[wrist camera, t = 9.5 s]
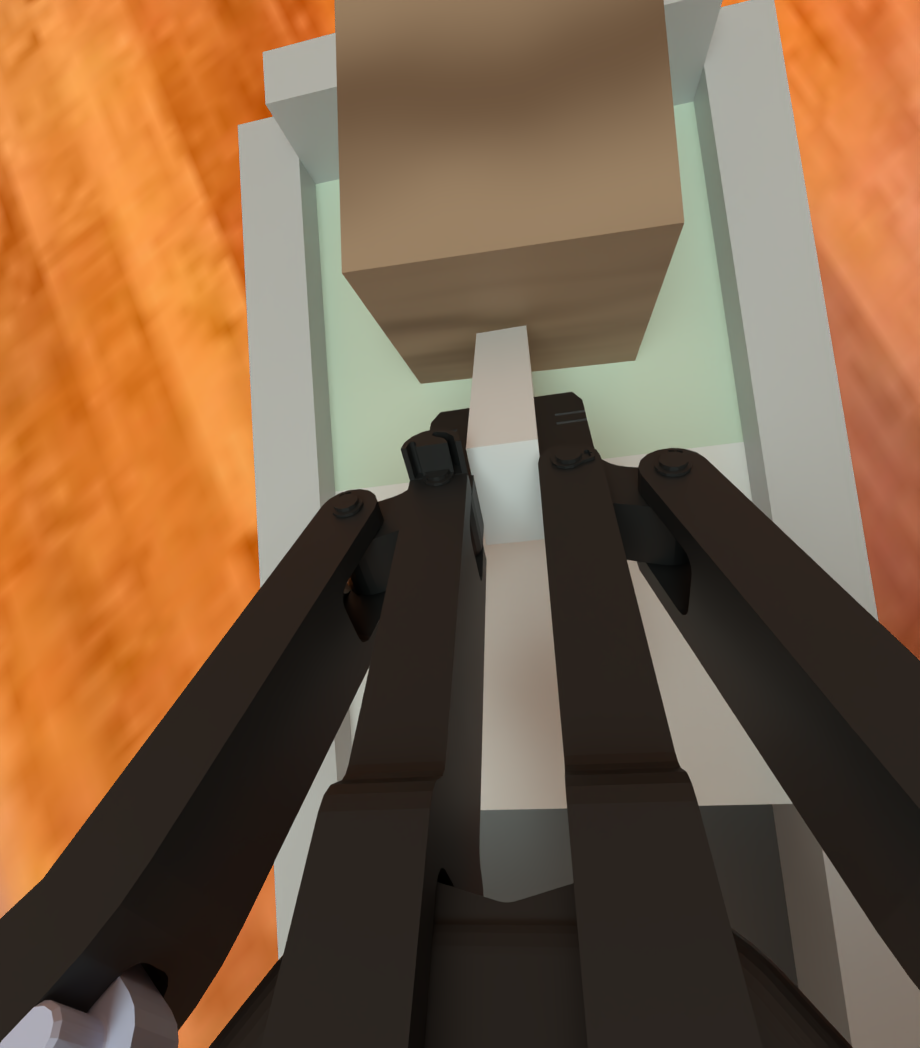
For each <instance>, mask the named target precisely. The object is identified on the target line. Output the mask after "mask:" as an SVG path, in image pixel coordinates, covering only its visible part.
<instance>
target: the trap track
mask: <svg viewBox="0 0 920 1048" xmlns="http://www.w3.org/2000/svg"><path fill="white" fill-rule="evenodd" d="M721 4H722V0H664V10H665V21H666V32H667V42H668V53H669V64H670V74H671V85H672V96H673V106H674V117H675V128H676V138H677V149H678V160H679V170H680V181H681V192H682V202H683V213H684V225H683V228H682V231H681V233H680V236H679V239H678V242H677V245H676V247H675V250H674V253H673V256H672V259H671V261H670V264H669V267H668V270H667V273H666V275H665V278H664V281H663V284H662V287H661V289H660V292H659V295H658V298H657V301H656V303H655V306H654V309H653V312H652V315H651V317H650V320H649V323H648V326H647V329H646V331H645V334H644V337H643V340H642V343H641V345H640V348H639V351H638V354H637V357H636V359H635V361H627V362H618V363H608V364H599V365H590V366H581V367H572V368H563V369H553V370H544V371H535V372H532V380H533V389H534V397H538V396H545V395H552V394H558V393H565V392H573V393H574V394H576V395H577V396H578V397H580V398H581V399H582V400H583V404H584V409H585V413H586V417H587V421H588V425H589V429H590V433H591V437H592V441H593V445H594V449H596V450H597V451H598V453H599V454H600V456H601V459H602V460H604V461H606V462H608V463H611V464H614V465H618V466H626V467H638V466H639V463H640V460H641V459H642V458H643V457H645V456H646V455H647V454H649V453H651V452H654V451H656V450H660V449H667V448H682V449H687V450H691V451H694V452H697V453H699V454H700V455H702V456H703V457H705V458H706V459H707V460H708V461H709V462H710V463H711V464H712V465H714V466H715V467H716V468H717V469H718V470H719V471H720V472H721V473H722V474H723V475H724V476H725V477H726V478H727V479H728V480H729V481H730V482H731V483H733V484H734V485H735V486H736V487H737V488H738V489H739V490H740V491H741V492H742V493H743V494H744V495H745V496H746V497H747V498H748V499H749V500H750V501H752V502H753V503H754V504H755V505H756V506H757V507H758V508H759V509H760V510H761V511H762V512H763V513H764V514H765V515H766V516H767V517H768V518H769V519H771V520H772V521H773V522H774V523H775V524H776V525H777V526H778V527H779V528H780V529H781V530H782V531H783V532H784V533H785V534H786V535H787V536H788V537H790V538H791V539H792V540H793V541H794V542H795V543H796V544H797V545H798V546H799V547H800V548H801V549H802V550H803V551H804V552H805V553H806V554H808V555H809V556H810V557H811V558H812V559H813V560H814V561H815V562H816V563H817V564H818V565H819V566H820V567H821V568H822V569H823V570H824V571H825V572H827V573H828V574H829V575H830V576H831V577H832V578H833V579H834V580H835V581H836V582H837V583H838V584H839V585H840V586H841V587H842V588H843V589H844V590H846V591H847V592H848V593H849V594H850V595H851V596H852V597H853V598H854V599H855V600H856V601H857V602H858V603H859V604H860V605H861V606H862V607H863V608H865V609H866V610H867V611H868V612H869V613H870V614H871V615H872V616H873V617H874V618H875V619H876V620H877V621H878V615H877V609H876V603H875V597H874V591H873V585H872V579H871V573H870V567H869V562H868V556H867V550H866V544H865V538H864V532H863V526H862V520H861V514H860V508H859V502H858V496H857V490H856V484H855V478H854V472H853V466H852V461H851V455H850V449H849V443H848V437H847V431H846V425H845V419H844V413H843V407H842V401H841V395H840V389H839V383H838V377H837V371H836V366H835V360H834V354H833V348H832V342H831V336H830V330H829V324H828V318H827V312H826V306H825V300H824V294H823V288H822V282H821V276H820V270H819V265H818V259H817V253H816V247H815V241H814V235H813V229H812V223H811V217H810V211H809V205H808V199H807V193H806V187H805V181H804V175H803V170H802V164H801V158H800V152H799V146H798V140H797V134H796V128H795V122H794V116H793V110H792V104H791V98H790V92H789V86H788V80H787V75H786V69H785V63H784V57H783V51H782V45H781V39H780V33H779V27H778V21H777V15H776V9H775V3H774V0H749V1H745V2H741V3H737V4H733V5H729V6H725V7H721ZM720 7H721V8H720ZM263 65H264V84H265V102H266V106H267V107H268V109H269V110H270V112H271V114H272V115H273V117H270V118H265V119H261V120H257V121H253V122H249V123H245V124H241V125H238V138H239V159H240V179H241V200H242V220H243V241H244V261H245V282H246V302H247V323H248V343H249V363H250V384H251V404H252V425H253V445H254V466H255V486H256V507H257V527H258V548H259V568H260V588H261V587H262V585H263V584H264V583H265V581H266V580H267V579H268V577H269V576H270V575H271V573H272V572H273V571H274V569H275V568H276V567H277V565H278V564H279V563H280V561H281V560H282V559H283V557H284V556H285V555H286V553H287V552H288V551H289V549H290V548H291V547H292V545H293V544H294V543H295V541H296V540H297V539H298V537H299V536H300V535H301V533H302V532H303V531H304V529H305V528H306V527H307V525H308V524H309V523H310V521H311V520H312V519H313V517H314V516H315V515H316V513H317V512H318V511H319V509H320V508H321V507H322V505H324V504H325V503H326V502H327V501H328V500H329V499H330V498H332V497H334V496H335V495H337V494H339V493H341V492H345V491H348V490H355V489H363V490H369V491H371V492H372V493H374V494H375V495H376V498H377V501H378V502H379V501H382V500H385V499H388V498H391V497H394V496H396V495H399V494H401V493H403V492H405V491H406V490H408V486H409V482H410V479H409V476H408V473H407V469H406V466H405V463H404V459H403V456H402V452H401V447H402V446H403V444H404V442H406V441H407V440H408V439H409V438H411V437H412V436H414V435H417V434H419V433H421V432H424V431H428V430H430V426H431V422H432V421H433V420H434V419H435V418H436V417H437V415H438V414H439V413H440V412H445V411H452V410H459V409H465V408H470V399H471V388H472V378H471V379H462V380H452V381H443V382H434V383H425V384H421V383H420V382H419V381H418V379H417V378H416V376H415V375H414V374H413V372H412V371H411V369H410V368H409V367H408V365H407V364H406V362H405V361H404V360H403V358H402V357H401V355H400V354H399V353H398V351H397V350H396V348H395V347H394V346H393V344H392V343H391V341H390V340H389V339H388V337H387V336H386V334H385V333H384V332H383V330H382V329H381V327H380V326H379V325H378V323H377V322H376V320H375V319H374V318H373V316H372V315H371V313H370V312H369V310H368V309H367V308H366V306H365V305H364V303H363V302H362V301H361V299H360V298H359V296H358V295H357V294H356V292H355V291H354V289H353V288H352V287H351V285H350V284H349V282H348V281H347V280H346V278H345V277H344V275H343V274H342V265H341V226H340V188H339V149H338V111H337V72H336V34H335V33H333V34H329V35H326V36H322V37H318V38H314V39H311V40H307V41H303V42H299V43H296V44H292V45H288V46H284V47H280V48H277V49H273V50H269V51H265V52H263ZM483 546H484V550H485V555H486V559H487V565H486V606H485V647H484V688H483V728H482V769H481V810H480V867H481V874H482V882H483V894H484V897H487V898H490V899H493V900H496V901H500V902H514V901H518V900H521V899H524V898H528V897H531V896H534V895H537V894H540V893H544V892H547V891H550V890H553V889H556V888H560V887H563V886H566V885H569V884H572V883H574V882H573V870H572V859H571V847H570V836H569V824H568V813H567V801H566V789H565V764H564V752H563V741H562V729H561V718H560V707H559V696H558V684H557V673H556V662H555V650H554V639H553V628H552V617H551V605H550V594H549V583H548V571H547V560H546V549H545V539H542V540H532V541H522V542H513V543H503V544H493V545H486V541H485V537H484V536H483ZM627 563H628V567H629V571H630V574H631V578H632V582H633V586H634V590H635V594H636V598H637V602H638V606H639V610H640V614H641V618H642V622H643V626H644V630H645V634H646V638H647V642H648V646H649V650H650V654H651V658H652V662H653V666H654V670H655V674H656V678H657V682H658V686H659V690H660V693H661V697H662V701H663V705H664V709H665V713H666V717H667V721H668V725H669V729H670V733H671V737H672V741H673V745H674V749H675V753H676V756H677V760H678V762H679V765H680V767H681V768H682V769H684V770H685V771H686V772H687V773H688V776H689V778H690V780H691V782H692V785H693V788H694V792H695V795H696V798H697V802H698V805H699V809H700V813H701V817H702V820H703V824H704V828H705V832H706V835H707V839H708V843H709V847H710V851H711V854H712V858H713V862H714V866H715V869H716V873H717V877H718V881H719V884H720V888H721V892H722V896H723V900H724V903H725V907H726V911H727V915H728V918H729V922H730V926H731V928H733V929H734V930H736V931H737V932H738V933H740V934H741V935H742V936H744V937H745V938H747V939H748V940H749V941H751V942H752V943H753V944H754V945H755V946H756V947H758V948H759V949H760V950H761V951H762V952H763V953H764V954H765V955H767V956H768V957H769V958H770V959H771V960H772V961H773V962H774V963H775V964H776V965H777V966H778V967H779V968H780V969H781V970H782V971H783V972H784V973H785V974H786V975H787V976H788V977H789V978H790V980H791V981H792V982H793V983H794V984H795V985H796V986H797V987H798V988H799V989H800V990H801V991H802V993H803V994H804V995H805V996H806V997H807V998H808V999H809V1000H810V1001H811V1002H812V1003H813V1005H814V1006H815V1007H816V1008H817V1009H818V1010H819V1011H820V1012H821V1013H822V1014H823V1015H824V1016H825V1018H826V1019H827V1020H828V1021H829V1022H830V1023H831V1024H832V1025H833V1026H834V1027H835V1028H836V1029H837V1031H838V1032H839V1033H840V1034H841V1035H842V1036H843V1037H844V1038H845V1039H846V1040H847V1041H848V1043H849V1044H850V1045H851V1046H852V1047H853V1048H920V990H919V989H918V988H917V986H916V985H915V984H914V983H913V982H912V980H911V979H910V978H909V976H908V975H907V973H906V972H905V971H904V969H903V968H902V966H901V965H900V964H899V962H898V961H897V959H896V958H895V957H894V955H893V954H892V952H891V951H890V950H889V948H888V947H887V945H886V944H885V943H884V941H883V940H882V938H881V937H880V936H879V934H878V933H877V931H876V930H875V928H874V927H873V925H872V924H871V922H870V921H869V919H868V918H867V916H866V915H865V913H864V911H863V910H862V908H861V907H860V905H859V904H858V902H857V901H856V899H855V898H854V896H853V895H852V893H851V892H850V890H849V889H848V887H847V886H846V884H845V883H844V881H843V879H842V878H841V876H840V875H839V873H838V872H837V870H836V869H835V867H834V866H833V864H832V863H831V861H830V860H829V858H828V857H827V855H826V854H825V852H824V851H823V849H822V847H821V846H820V844H819V843H818V841H817V840H816V838H815V837H814V835H813V834H812V832H811V831H810V829H809V828H808V826H807V825H806V823H805V822H804V820H803V819H802V817H801V815H800V814H799V812H798V811H797V809H796V808H795V806H794V805H793V803H792V802H791V800H790V799H789V797H788V796H787V794H786V793H785V791H784V790H783V788H782V787H781V785H780V783H779V782H778V780H777V779H776V777H775V776H774V774H773V773H772V771H771V770H770V768H769V767H768V765H767V764H766V762H765V761H764V759H763V758H762V756H761V755H760V753H759V751H758V750H757V748H756V747H755V745H754V744H753V742H752V741H751V739H750V738H749V736H748V735H747V733H746V732H745V730H744V729H743V727H742V726H741V724H740V722H739V721H738V719H737V718H736V716H735V715H734V713H733V712H732V710H731V709H730V707H729V706H728V704H727V703H726V701H725V700H724V698H723V697H722V695H721V694H720V692H719V690H718V689H717V687H716V686H715V684H714V683H713V681H712V680H711V678H710V677H709V675H708V674H707V672H706V671H705V669H704V668H703V666H702V665H701V663H700V662H699V660H698V658H697V657H696V655H695V654H694V652H693V651H692V649H691V648H690V646H689V645H688V643H687V642H686V640H685V639H684V637H683V636H682V634H681V633H680V631H679V630H678V628H677V626H676V625H675V623H674V622H673V620H672V619H671V617H670V616H669V614H668V613H667V611H666V610H665V608H664V607H663V605H662V604H661V602H660V601H659V599H658V598H657V596H656V594H655V593H654V591H653V590H652V588H651V587H650V585H649V584H648V582H647V581H646V579H645V578H644V576H643V575H642V573H641V572H640V570H639V567H638V564H637V561H631V560H627ZM878 622H879V621H878ZM369 667H370V666H369ZM368 671H369V669H368ZM368 671H367V673H366V675H365V677H364V679H363V681H362V683H361V685H360V687H359V689H358V691H357V693H356V695H355V697H354V699H353V701H352V703H351V705H350V708H349V710H348V712H347V714H346V716H345V718H344V720H343V722H342V724H341V726H340V728H339V730H338V732H337V734H336V736H335V738H334V740H333V742H332V744H331V747H330V749H329V751H328V753H327V755H326V757H325V759H324V761H323V763H322V765H321V767H320V769H319V771H318V773H317V775H316V777H315V779H314V781H313V783H312V786H311V788H310V790H309V792H308V794H307V796H306V798H305V800H304V802H303V804H302V806H301V808H300V810H299V812H298V814H297V816H296V818H295V820H294V822H293V825H292V827H291V829H290V831H289V833H288V835H287V837H286V839H285V841H284V843H283V845H282V847H281V849H280V851H279V853H278V855H277V857H276V859H275V862H274V876H275V896H276V917H277V937H278V958H279V959H280V958H281V957H282V955H283V953H284V949H285V945H286V941H287V937H288V933H289V929H290V925H291V921H292V917H293V912H294V908H295V904H296V900H297V896H298V892H299V888H300V884H301V880H302V875H303V871H304V867H305V863H306V859H307V855H308V851H309V847H310V843H311V838H312V834H313V830H314V826H315V822H316V818H317V814H318V810H319V807H320V804H321V801H322V798H323V795H324V794H325V792H326V791H327V789H328V788H329V786H330V785H331V784H333V783H336V782H338V781H341V780H342V779H343V777H344V776H345V774H346V771H347V767H348V764H349V759H350V754H351V750H352V745H353V741H354V736H355V731H356V727H357V722H358V717H359V713H360V708H361V704H362V699H363V694H364V690H365V685H366V680H367V676H368Z"/></svg>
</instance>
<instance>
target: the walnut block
mask: <svg viewBox="0 0 920 1048" xmlns="http://www.w3.org/2000/svg"><path fill="white" fill-rule="evenodd" d="M335 34H336V72H337V111H338V149H339V188H340V226H341V265H342V274H343V275H344V277H345V278H346V280H347V281H348V282H349V284H350V285H351V287H352V288H353V289H354V291H355V292H356V294H357V295H358V296H359V298H360V299H361V301H362V302H363V303H364V305H365V306H366V308H367V309H368V310H369V312H370V313H371V315H372V316H373V318H374V319H375V320H376V322H377V323H378V325H379V326H380V327H381V329H382V330H383V332H384V333H385V334H386V336H387V337H388V339H389V340H390V341H391V343H392V344H393V346H394V347H395V348H396V350H397V351H398V353H399V354H400V355H401V357H402V358H403V360H404V361H405V362H406V364H407V365H408V367H409V368H410V369H411V371H412V372H413V374H414V375H415V376H416V378H417V379H418V381H419V382H420V383H421V384H425V383H434V382H443V381H452V380H462V379H471V378H472V377H473V366H474V355H475V344H476V334H477V333H483V332H489V331H495V330H501V329H507V328H513V327H519V326H525V325H526V328H527V336H528V345H529V354H530V363H531V371H532V372H535V371H544V370H553V369H563V368H572V367H581V366H590V365H599V364H608V363H618V362H627V361H635V359H636V357H637V354H638V351H639V348H640V345H641V343H642V340H643V337H644V334H645V331H646V329H647V326H648V323H649V320H650V317H651V315H652V312H653V309H654V306H655V303H656V301H657V298H658V295H659V292H660V289H661V287H662V284H663V281H664V278H665V275H666V273H667V270H668V267H669V264H670V261H671V259H672V256H673V253H674V250H675V247H676V245H677V242H678V239H679V236H680V233H681V231H682V228H683V225H684V213H683V202H682V192H681V181H680V170H679V160H678V149H677V138H676V128H675V117H674V106H673V96H672V85H671V74H670V64H669V53H668V42H667V32H666V21H665V10H664V0H335Z"/></svg>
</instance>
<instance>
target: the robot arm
mask: <svg viewBox="0 0 920 1048" xmlns="http://www.w3.org/2000/svg"><path fill="white" fill-rule="evenodd" d="M401 452H402V456H403V459H404V463H405V466H406V469H407V473H408V476H409V479H410V482H409V486H408V490H406V491H405V492H403V493H401V494H399V495H396V496H394V497H391V498H388V499H385V500H382V501H379V502H378V501H377V498H376V495H375V494H374V493H372V492H371V491H369V490H363V489H355V490H348V491H345V492H341V493H339V494H337V495H335V496H334V497H332V498H330V499H329V500H328V501H327V502H326V503H325V504H324V505H322V507H321V508H320V509H319V511H318V512H317V513H316V515H315V516H314V517H313V519H312V520H311V521H310V523H309V524H308V525H307V527H306V528H305V529H304V531H303V532H302V533H301V535H300V536H299V537H298V539H297V540H296V541H295V543H294V544H293V545H292V547H291V548H290V549H289V551H288V552H287V553H286V555H285V556H284V557H283V559H282V560H281V561H280V563H279V564H278V565H277V567H276V568H275V569H274V571H273V572H272V573H271V575H270V576H269V577H268V579H267V580H266V581H265V583H264V584H263V585H262V587H261V588H260V589H259V591H258V592H257V593H256V595H255V596H254V597H253V599H252V600H251V601H250V603H249V604H248V605H247V607H246V608H245V609H244V611H243V612H242V613H241V615H240V616H239V617H238V619H237V620H236V621H235V623H234V624H233V626H232V627H231V628H230V630H229V631H228V632H227V634H226V635H225V636H224V638H223V639H222V640H221V642H220V643H219V644H218V646H217V647H216V648H215V650H214V651H213V652H212V654H211V655H210V656H209V658H208V659H207V660H206V662H205V663H204V664H203V666H202V667H201V668H200V670H199V671H198V672H197V674H196V675H195V676H194V678H193V679H192V680H191V682H190V683H189V684H188V686H187V687H186V688H185V690H184V691H183V692H182V694H181V695H180V696H179V698H178V699H177V700H176V702H175V703H174V704H173V706H172V707H171V708H170V710H169V711H168V712H167V714H166V715H165V716H164V718H163V719H162V720H161V722H160V723H159V724H158V726H157V727H156V728H155V730H154V731H153V732H152V734H151V735H150V736H149V738H148V739H147V740H146V742H145V743H144V744H143V746H142V747H141V748H140V750H139V751H138V752H137V754H136V755H135V756H134V758H133V759H132V760H131V762H130V763H129V764H128V766H127V767H126V768H125V770H124V771H123V773H122V774H121V775H120V777H119V778H118V779H117V781H116V782H115V783H114V785H113V786H112V787H111V789H110V790H109V791H108V793H107V794H106V795H105V797H104V798H103V799H102V801H101V802H100V803H99V805H98V806H97V807H96V809H95V810H94V811H93V813H92V814H91V815H90V817H89V818H88V819H87V821H86V822H85V823H84V825H83V826H82V827H81V829H80V830H79V831H78V833H77V834H76V835H75V837H74V838H73V839H72V841H71V842H70V843H69V845H68V846H67V847H66V849H65V850H64V851H63V853H62V854H61V855H60V857H59V858H58V859H57V861H56V862H55V863H54V865H53V866H52V867H51V869H50V870H49V871H48V873H47V874H46V875H45V877H44V878H43V879H42V880H41V881H40V882H39V883H38V884H37V885H36V886H35V887H34V888H33V889H32V890H31V891H30V892H28V893H27V894H26V895H25V896H24V897H23V898H22V899H21V900H20V901H19V902H18V903H17V904H16V905H15V906H14V907H12V908H11V909H10V910H9V911H8V912H7V913H6V914H5V915H4V916H3V917H2V918H1V919H0V1048H178V1030H179V1029H180V1028H181V1026H182V1025H183V1024H184V1022H185V1021H186V1020H187V1018H188V1017H189V1016H190V1014H191V1013H192V1011H193V1010H194V1009H195V1007H196V1006H197V1004H198V1003H199V1001H200V999H201V998H202V996H203V995H204V993H205V992H206V990H207V988H208V987H209V985H210V984H211V982H212V981H213V979H214V977H215V976H216V974H217V973H218V971H219V969H220V968H221V966H222V964H223V963H224V961H225V959H226V957H227V955H228V953H229V951H230V950H231V948H232V946H233V944H234V942H235V940H236V938H237V936H238V935H239V933H240V931H241V929H242V927H243V925H244V923H245V921H246V919H247V917H248V915H249V913H250V911H251V909H252V907H253V905H254V903H255V901H256V898H257V896H258V894H259V892H260V890H261V888H262V886H263V884H264V882H265V880H266V878H267V876H268V874H269V872H270V870H271V868H272V866H273V864H274V862H275V859H276V857H277V855H278V853H279V851H280V849H281V847H282V845H283V843H284V841H285V839H286V837H287V835H288V833H289V831H290V829H291V827H292V825H293V822H294V820H295V818H296V816H297V814H298V812H299V810H300V808H301V806H302V804H303V802H304V800H305V798H306V796H307V794H308V792H309V790H310V788H311V786H312V783H313V781H314V779H315V777H316V775H317V773H318V771H319V769H320V767H321V765H322V763H323V761H324V759H325V757H326V755H327V753H328V751H329V749H330V747H331V744H332V742H333V740H334V738H335V736H336V734H337V732H338V730H339V728H340V726H341V724H342V722H343V720H344V718H345V716H346V714H347V712H348V710H349V708H350V705H351V703H352V701H353V699H354V697H355V695H356V693H357V691H358V689H359V687H360V685H361V683H362V681H363V679H364V677H365V675H366V673H367V671H368V669H369V671H368V676H367V680H366V685H365V690H364V694H363V699H362V704H361V708H360V713H359V717H358V722H357V727H356V731H355V736H354V741H353V745H352V750H351V754H350V759H349V764H348V767H347V771H346V774H345V776H344V777H343V779H342V780H341V781H338V782H336V783H333V784H331V785H330V786H329V788H328V789H327V791H326V792H325V794H324V795H323V798H322V801H321V804H320V807H319V810H318V814H317V818H316V822H315V826H314V830H313V834H312V838H311V843H310V847H309V851H308V855H307V859H306V863H305V867H304V871H303V875H302V880H301V884H300V888H299V892H298V896H297V900H296V904H295V908H294V912H293V917H292V921H291V925H290V929H289V933H288V937H287V941H286V945H285V949H284V953H283V955H282V957H281V958H280V959H279V960H278V961H277V962H276V964H275V965H274V966H273V967H272V969H271V970H270V971H269V972H268V974H267V975H266V976H265V977H264V979H263V980H262V981H261V983H260V984H259V985H258V986H257V988H256V989H255V990H254V991H253V993H252V994H251V995H250V996H249V998H248V999H247V1000H246V1001H245V1003H244V1004H243V1005H242V1006H241V1008H240V1009H239V1010H238V1011H237V1013H236V1014H235V1015H234V1016H233V1018H232V1019H231V1020H230V1021H229V1023H228V1024H227V1025H226V1026H225V1028H224V1029H223V1030H222V1031H221V1033H220V1034H219V1035H218V1036H217V1038H216V1039H215V1040H214V1041H213V1043H212V1044H211V1045H210V1046H209V1048H853V1047H852V1046H851V1045H850V1044H849V1043H848V1041H847V1040H846V1039H845V1038H844V1037H843V1036H842V1035H841V1034H840V1033H839V1032H838V1031H837V1029H836V1028H835V1027H834V1026H833V1025H832V1024H831V1023H830V1022H829V1021H828V1020H827V1019H826V1018H825V1016H824V1015H823V1014H822V1013H821V1012H820V1011H819V1010H818V1009H817V1008H816V1007H815V1006H814V1005H813V1003H812V1002H811V1001H810V1000H809V999H808V998H807V997H806V996H805V995H804V994H803V993H802V991H801V990H800V989H799V988H798V987H797V986H796V985H795V984H794V983H793V982H792V981H791V980H790V978H789V977H788V976H787V975H786V974H785V973H784V972H783V971H782V970H781V969H780V968H779V967H778V966H777V965H776V964H775V963H774V962H773V961H772V960H771V959H770V958H769V957H768V956H767V955H765V954H764V953H763V952H762V951H761V950H760V949H759V948H758V947H756V946H755V945H754V944H753V943H752V942H751V941H749V940H748V939H747V938H745V937H744V936H742V935H741V934H740V933H738V932H737V931H736V930H734V929H733V928H731V926H730V922H729V918H728V915H727V911H726V907H725V903H724V900H723V896H722V892H721V888H720V884H719V881H718V877H717V873H716V869H715V866H714V862H713V858H712V854H711V851H710V847H709V843H708V839H707V835H706V832H705V828H704V824H703V820H702V817H701V813H700V809H699V805H698V802H697V798H696V795H695V792H694V788H693V785H692V782H691V780H690V778H689V776H688V773H687V772H686V771H685V770H684V769H682V768H681V767H680V765H679V762H678V760H677V756H676V753H675V749H674V745H673V741H672V737H671V733H670V729H669V725H668V721H667V717H666V713H665V709H664V705H663V701H662V697H661V693H660V690H659V686H658V682H657V678H656V674H655V670H654V666H653V662H652V658H651V654H650V650H649V646H648V642H647V638H646V634H645V630H644V626H643V622H642V618H641V614H640V610H639V606H638V602H637V598H636V594H635V590H634V586H633V582H632V578H631V574H630V571H629V567H628V563H627V560H631V561H637V564H638V567H639V570H640V572H641V573H642V575H643V576H644V578H645V579H646V581H647V582H648V584H649V585H650V587H651V588H652V590H653V591H654V593H655V594H656V596H657V598H658V599H659V601H660V602H661V604H662V605H663V607H664V608H665V610H666V611H667V613H668V614H669V616H670V617H671V619H672V620H673V622H674V623H675V625H676V626H677V628H678V630H679V631H680V633H681V634H682V636H683V637H684V639H685V640H686V642H687V643H688V645H689V646H690V648H691V649H692V651H693V652H694V654H695V655H696V657H697V658H698V660H699V662H700V663H701V665H702V666H703V668H704V669H705V671H706V672H707V674H708V675H709V677H710V678H711V680H712V681H713V683H714V684H715V686H716V687H717V689H718V690H719V692H720V694H721V695H722V697H723V698H724V700H725V701H726V703H727V704H728V706H729V707H730V709H731V710H732V712H733V713H734V715H735V716H736V718H737V719H738V721H739V722H740V724H741V726H742V727H743V729H744V730H745V732H746V733H747V735H748V736H749V738H750V739H751V741H752V742H753V744H754V745H755V747H756V748H757V750H758V751H759V753H760V755H761V756H762V758H763V759H764V761H765V762H766V764H767V765H768V767H769V768H770V770H771V771H772V773H773V774H774V776H775V777H776V779H777V780H778V782H779V783H780V785H781V787H782V788H783V790H784V791H785V793H786V794H787V796H788V797H789V799H790V800H791V802H792V803H793V805H794V806H795V808H796V809H797V811H798V812H799V814H800V815H801V817H802V819H803V820H804V822H805V823H806V825H807V826H808V828H809V829H810V831H811V832H812V834H813V835H814V837H815V838H816V840H817V841H818V843H819V844H820V846H821V847H822V849H823V851H824V852H825V854H826V855H827V857H828V858H829V860H830V861H831V863H832V864H833V866H834V867H835V869H836V870H837V872H838V873H839V875H840V876H841V878H842V879H843V881H844V883H845V884H846V886H847V887H848V889H849V890H850V892H851V893H852V895H853V896H854V898H855V899H856V901H857V902H858V904H859V905H860V907H861V908H862V910H863V911H864V913H865V915H866V916H867V918H868V919H869V921H870V922H871V924H872V925H873V927H874V928H875V930H876V931H877V933H878V934H879V936H880V937H881V938H882V940H883V941H884V943H885V944H886V945H887V947H888V948H889V950H890V951H891V952H892V954H893V955H894V957H895V958H896V959H897V961H898V962H899V964H900V965H901V966H902V968H903V969H904V971H905V972H906V973H907V975H908V976H909V978H910V979H911V980H912V982H913V983H914V984H915V985H916V986H917V988H918V989H919V990H920V661H919V660H918V659H917V658H916V657H915V656H914V655H913V654H912V653H911V652H910V651H909V650H908V649H907V648H906V647H905V646H904V645H903V644H901V643H900V642H899V641H898V640H897V639H896V638H895V637H894V636H893V635H892V634H891V633H890V632H889V631H888V630H887V629H886V628H885V627H884V626H882V625H881V624H880V623H879V622H878V621H877V620H876V619H875V618H874V617H873V616H872V615H871V614H870V613H869V612H868V611H867V610H866V609H865V608H863V607H862V606H861V605H860V604H859V603H858V602H857V601H856V600H855V599H854V598H853V597H852V596H851V595H850V594H849V593H848V592H847V591H846V590H844V589H843V588H842V587H841V586H840V585H839V584H838V583H837V582H836V581H835V580H834V579H833V578H832V577H831V576H830V575H829V574H828V573H827V572H825V571H824V570H823V569H822V568H821V567H820V566H819V565H818V564H817V563H816V562H815V561H814V560H813V559H812V558H811V557H810V556H809V555H808V554H806V553H805V552H804V551H803V550H802V549H801V548H800V547H799V546H798V545H797V544H796V543H795V542H794V541H793V540H792V539H791V538H790V537H788V536H787V535H786V534H785V533H784V532H783V531H782V530H781V529H780V528H779V527H778V526H777V525H776V524H775V523H774V522H773V521H772V520H771V519H769V518H768V517H767V516H766V515H765V514H764V513H763V512H762V511H761V510H760V509H759V508H758V507H757V506H756V505H755V504H754V503H753V502H752V501H750V500H749V499H748V498H747V497H746V496H745V495H744V494H743V493H742V492H741V491H740V490H739V489H738V488H737V487H736V486H735V485H734V484H733V483H731V482H730V481H729V480H728V479H727V478H726V477H725V476H724V475H723V474H722V473H721V472H720V471H719V470H718V469H717V468H716V467H715V466H714V465H712V464H711V463H710V462H709V461H708V460H707V459H706V458H705V457H703V456H702V455H700V454H699V453H697V452H694V451H691V450H687V449H682V448H667V449H660V450H656V451H654V452H651V453H649V454H647V455H646V456H645V457H643V458H642V459H641V460H640V463H639V466H638V467H626V466H618V465H614V464H611V463H608V462H606V461H604V460H602V459H601V456H600V454H599V453H598V451H597V450H596V449H594V445H593V441H592V437H591V433H590V429H589V425H588V421H587V417H586V413H585V409H584V404H583V400H582V399H581V398H580V397H578V396H577V395H576V394H574V393H573V392H565V393H558V394H552V395H545V396H538V397H534V389H533V380H532V371H531V363H530V354H529V345H528V336H527V328H526V325H525V326H519V327H513V328H507V329H501V330H495V331H489V332H483V333H477V334H476V344H475V355H474V366H473V377H472V388H471V399H470V408H465V409H459V410H452V411H445V412H440V413H439V414H438V415H437V417H436V418H435V419H434V420H433V421H432V422H431V426H430V430H428V431H424V432H421V433H419V434H417V435H414V436H412V437H411V438H409V439H408V440H407V441H406V442H404V444H403V446H402V447H401ZM483 536H484V537H485V541H486V545H493V544H503V543H513V542H522V541H532V540H542V539H545V549H546V560H547V571H548V583H549V594H550V605H551V617H552V628H553V639H554V650H555V662H556V673H557V684H558V696H559V707H560V718H561V729H562V741H563V752H564V764H565V789H566V801H567V813H568V824H569V836H570V847H571V859H572V870H573V882H574V883H572V884H569V885H566V886H563V887H560V888H556V889H553V890H550V891H547V892H544V893H540V894H537V895H534V896H531V897H528V898H524V899H521V900H518V901H514V902H500V901H496V900H493V899H490V898H487V897H484V894H483V882H482V874H481V867H480V810H481V769H482V728H483V688H484V647H485V606H486V565H487V559H486V555H485V550H484V546H483ZM369 666H370V667H369Z"/></svg>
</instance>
